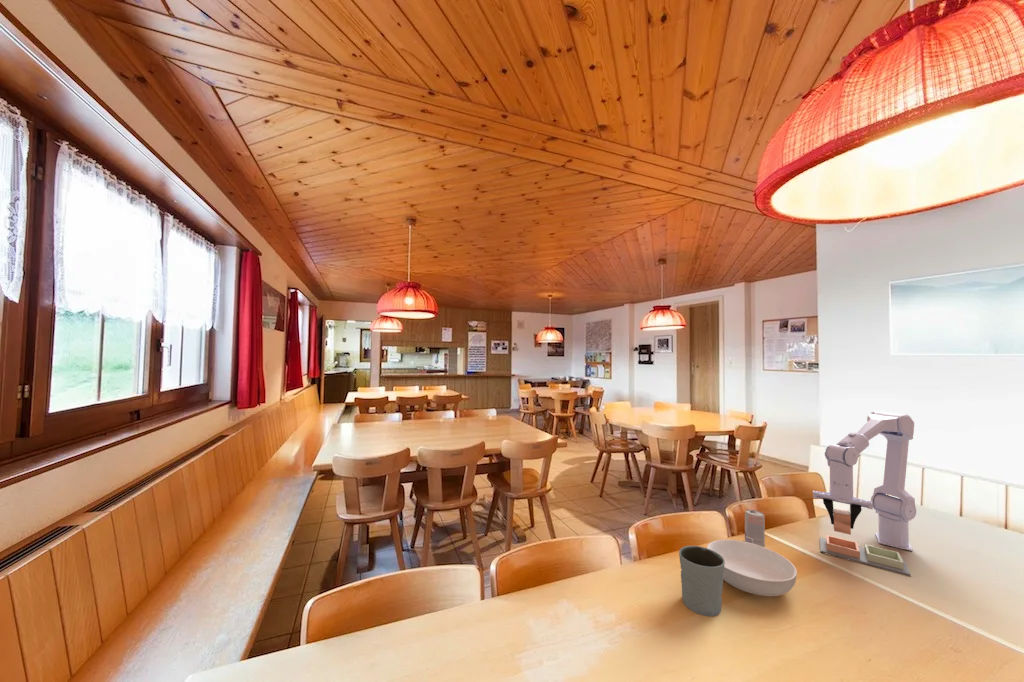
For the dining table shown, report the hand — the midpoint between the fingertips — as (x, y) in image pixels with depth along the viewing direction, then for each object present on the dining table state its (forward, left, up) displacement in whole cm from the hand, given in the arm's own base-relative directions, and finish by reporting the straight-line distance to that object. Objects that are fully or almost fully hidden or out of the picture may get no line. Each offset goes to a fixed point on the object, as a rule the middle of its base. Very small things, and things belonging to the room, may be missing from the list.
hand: (841, 525), depth 122 cm
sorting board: (0, +5, -8) cm, 9 cm away
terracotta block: (0, 0, -2) cm, 2 cm away
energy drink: (+19, -22, -8) cm, 30 cm away
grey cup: (+60, -29, -8) cm, 67 cm away
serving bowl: (+41, -21, -8) cm, 47 cm away
